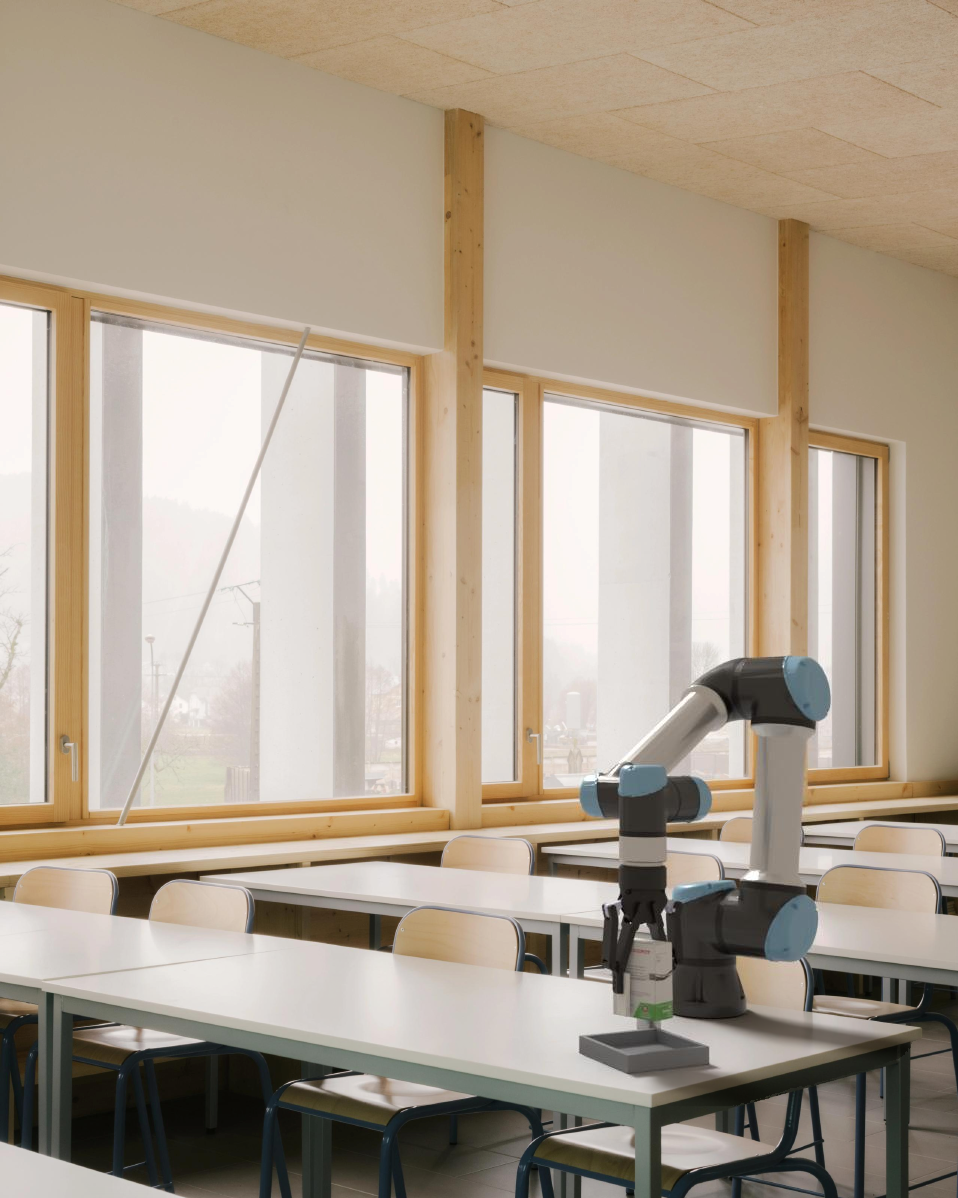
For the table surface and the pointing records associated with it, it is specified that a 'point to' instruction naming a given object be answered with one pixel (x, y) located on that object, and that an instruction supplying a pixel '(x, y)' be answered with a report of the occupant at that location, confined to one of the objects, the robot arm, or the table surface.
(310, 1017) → the table surface
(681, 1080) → the table surface
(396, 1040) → the table surface
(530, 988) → the table surface
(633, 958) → the ink box
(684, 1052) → the parts tray
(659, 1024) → the fuse
